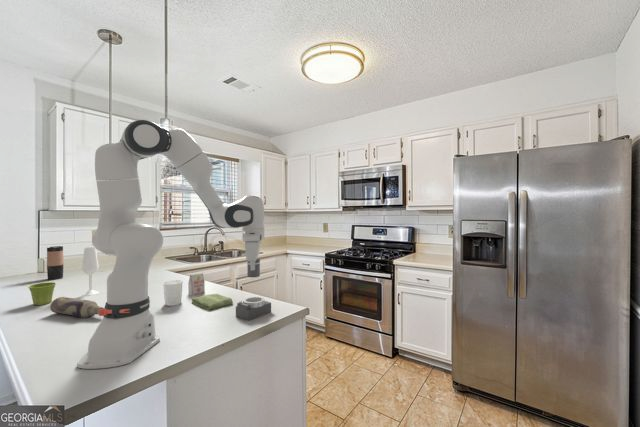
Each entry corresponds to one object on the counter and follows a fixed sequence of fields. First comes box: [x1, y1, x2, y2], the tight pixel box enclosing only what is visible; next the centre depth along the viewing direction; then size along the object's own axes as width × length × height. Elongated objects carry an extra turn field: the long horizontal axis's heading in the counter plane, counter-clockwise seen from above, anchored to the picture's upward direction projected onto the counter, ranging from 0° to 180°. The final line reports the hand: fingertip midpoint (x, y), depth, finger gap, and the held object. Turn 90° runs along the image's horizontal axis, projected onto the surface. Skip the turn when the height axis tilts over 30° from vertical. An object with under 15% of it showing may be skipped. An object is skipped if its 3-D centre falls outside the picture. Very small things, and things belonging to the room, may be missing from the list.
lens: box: [246, 257, 261, 279], centre depth 120 cm, size 5×5×7 cm
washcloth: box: [191, 293, 233, 311], centre depth 134 cm, size 13×18×3 cm
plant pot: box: [27, 281, 57, 306], centre depth 134 cm, size 9×9×9 cm
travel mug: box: [46, 245, 64, 281], centre depth 182 cm, size 8×8×20 cm
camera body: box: [235, 296, 272, 322], centre depth 120 cm, size 12×8×6 cm
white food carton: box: [187, 272, 206, 296], centre depth 150 cm, size 4×7×10 cm, turn 138°
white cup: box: [162, 279, 183, 307], centre depth 133 cm, size 8×8×10 cm
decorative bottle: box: [49, 296, 104, 319], centre depth 119 cm, size 26×8×7 cm, turn 73°
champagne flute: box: [81, 246, 100, 297], centre depth 149 cm, size 7×7×24 cm
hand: (253, 268), depth 120 cm, fingers closed on lens, 5 cm apart
